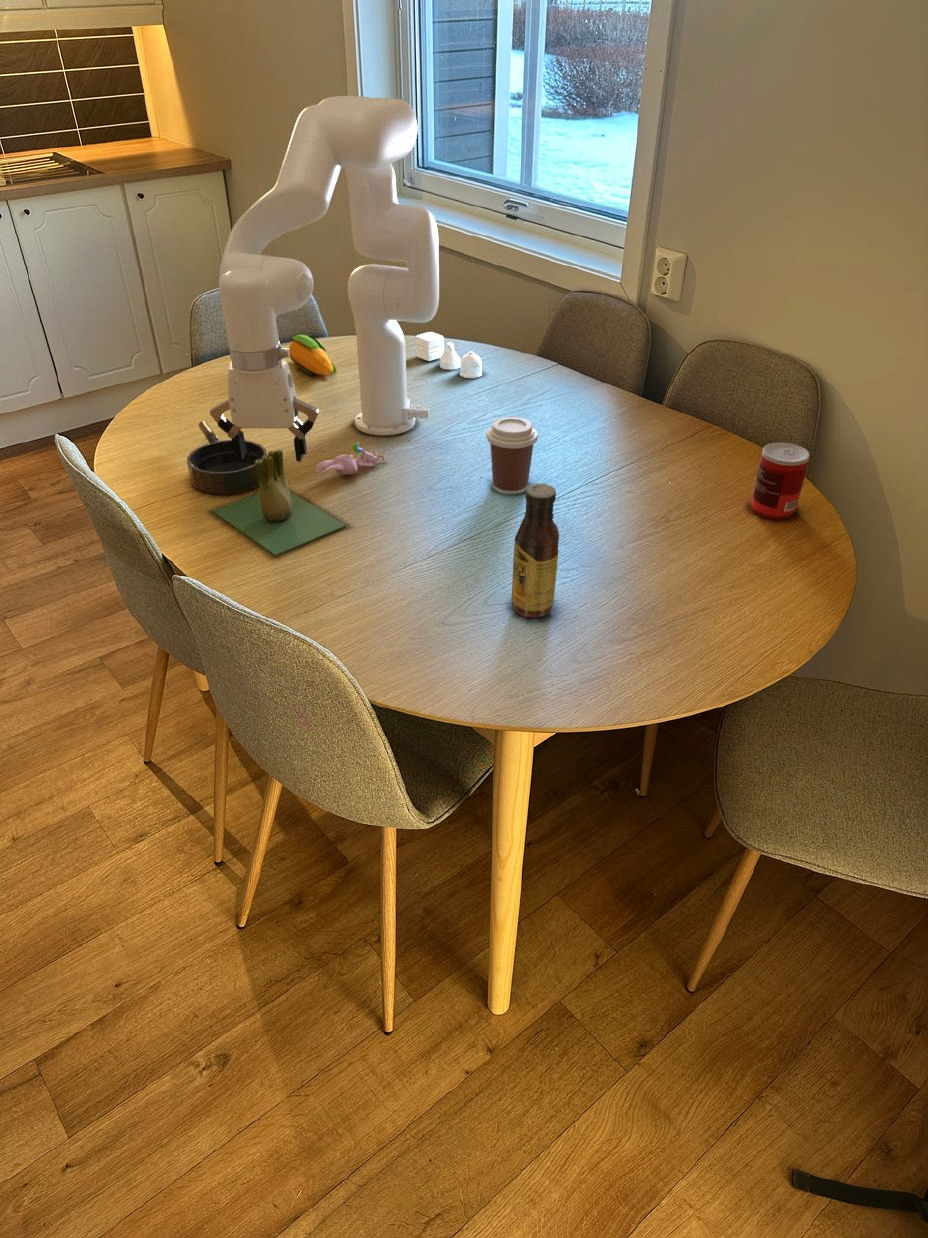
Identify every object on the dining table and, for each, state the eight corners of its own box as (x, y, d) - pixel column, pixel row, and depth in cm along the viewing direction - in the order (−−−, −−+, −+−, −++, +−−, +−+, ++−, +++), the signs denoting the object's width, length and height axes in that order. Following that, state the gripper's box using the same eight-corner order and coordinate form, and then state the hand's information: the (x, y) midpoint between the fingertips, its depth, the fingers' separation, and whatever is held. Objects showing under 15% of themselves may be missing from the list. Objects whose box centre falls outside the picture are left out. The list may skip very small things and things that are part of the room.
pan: (276, 461, 168) (273, 440, 166) (260, 496, 157) (256, 474, 154) (203, 460, 169) (199, 438, 166) (181, 495, 157) (177, 472, 155)
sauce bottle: (508, 597, 131) (513, 477, 120) (549, 595, 132) (558, 475, 120) (514, 622, 126) (520, 500, 114) (557, 620, 126) (567, 498, 115)
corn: (307, 324, 212) (344, 348, 198) (312, 355, 216) (348, 380, 203) (278, 332, 209) (314, 356, 195) (284, 363, 213) (320, 388, 200)
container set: (415, 357, 216) (414, 335, 212) (431, 352, 218) (431, 330, 215) (470, 379, 204) (470, 356, 200) (486, 374, 207) (487, 351, 203)
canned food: (796, 502, 156) (810, 445, 149) (794, 523, 150) (809, 465, 143) (751, 495, 158) (764, 439, 151) (748, 516, 152) (761, 458, 145)
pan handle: (223, 449, 166) (222, 441, 165) (214, 451, 166) (212, 443, 165) (207, 427, 175) (206, 418, 174) (198, 429, 174) (196, 420, 173)
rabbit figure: (368, 462, 171) (306, 475, 161) (370, 432, 168) (307, 444, 158) (389, 472, 168) (328, 486, 158) (392, 442, 165) (330, 455, 155)
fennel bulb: (265, 527, 147) (255, 462, 140) (257, 515, 151) (247, 450, 144) (298, 519, 150) (290, 455, 142) (289, 507, 153) (281, 444, 146)
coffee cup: (542, 480, 162) (546, 419, 155) (524, 501, 156) (527, 438, 149) (497, 471, 165) (498, 410, 158) (477, 491, 159) (478, 429, 152)
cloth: (345, 526, 148) (345, 525, 148) (275, 556, 141) (275, 554, 140) (280, 486, 160) (280, 485, 160) (212, 511, 152) (211, 510, 152)
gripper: (316, 347, 136) (327, 447, 147) (206, 346, 137) (225, 446, 147) (307, 365, 130) (319, 468, 141) (193, 364, 131) (213, 467, 141)
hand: (271, 457), depth 144 cm, fingers open, 9 cm apart
